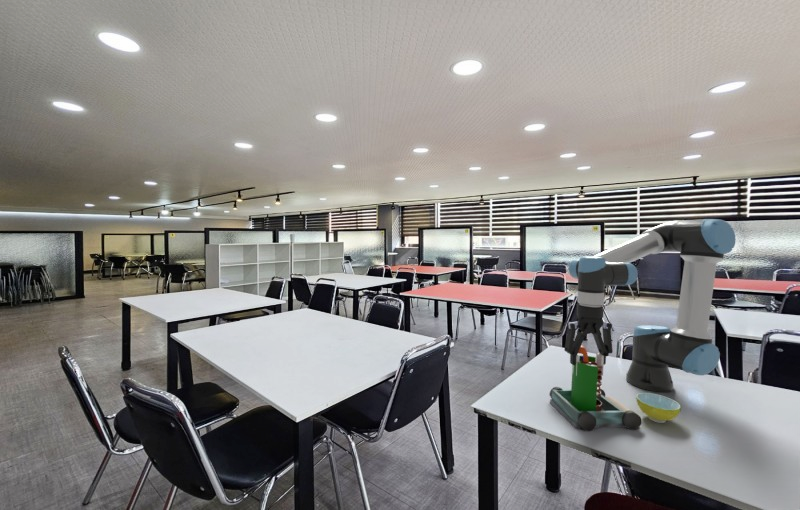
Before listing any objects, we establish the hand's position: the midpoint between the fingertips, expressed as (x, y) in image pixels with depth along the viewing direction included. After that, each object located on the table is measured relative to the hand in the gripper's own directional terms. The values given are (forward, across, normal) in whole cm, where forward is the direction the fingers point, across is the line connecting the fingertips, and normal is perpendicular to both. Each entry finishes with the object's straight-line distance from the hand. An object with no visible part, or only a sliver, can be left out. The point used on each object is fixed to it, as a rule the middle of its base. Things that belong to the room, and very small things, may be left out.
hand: (587, 374), depth 113 cm
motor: (+11, 0, 0) cm, 11 cm away
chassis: (+13, -2, 0) cm, 14 cm away
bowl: (+14, -21, +4) cm, 25 cm away
